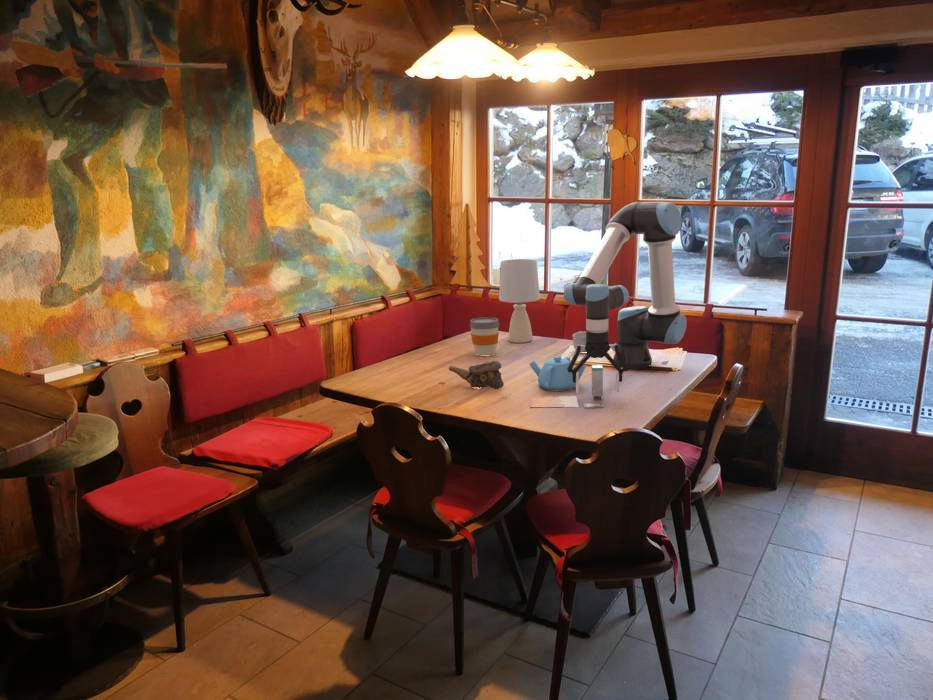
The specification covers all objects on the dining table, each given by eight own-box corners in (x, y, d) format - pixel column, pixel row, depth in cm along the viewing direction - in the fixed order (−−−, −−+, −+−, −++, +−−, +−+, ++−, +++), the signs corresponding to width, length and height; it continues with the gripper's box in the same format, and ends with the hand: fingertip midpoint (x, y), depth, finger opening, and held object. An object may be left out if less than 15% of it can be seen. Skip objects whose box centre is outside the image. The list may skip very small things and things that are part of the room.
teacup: (599, 354, 322) (599, 335, 321) (574, 355, 323) (574, 336, 321) (594, 346, 336) (594, 329, 334) (570, 347, 336) (570, 330, 334)
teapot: (565, 377, 289) (565, 349, 286) (587, 389, 273) (587, 359, 270) (528, 382, 284) (527, 353, 281) (548, 395, 268) (547, 364, 265)
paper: (576, 396, 264) (576, 396, 264) (578, 407, 252) (578, 406, 252) (529, 397, 265) (529, 396, 265) (530, 407, 254) (530, 407, 254)
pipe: (500, 392, 273) (500, 365, 271) (443, 389, 280) (442, 363, 277) (506, 385, 282) (506, 359, 279) (451, 382, 288) (450, 357, 286)
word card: (601, 404, 255) (601, 403, 255) (603, 407, 251) (603, 406, 251) (583, 404, 255) (583, 403, 255) (584, 408, 251) (584, 407, 251)
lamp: (529, 346, 342) (528, 264, 333) (493, 343, 351) (490, 263, 342) (547, 338, 357) (545, 259, 349) (511, 335, 366) (509, 258, 358)
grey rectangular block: (601, 397, 262) (601, 365, 260) (602, 400, 259) (602, 367, 256) (591, 397, 262) (591, 365, 260) (592, 400, 259) (592, 368, 256)
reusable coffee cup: (468, 357, 326) (466, 322, 323) (474, 350, 338) (473, 317, 335) (497, 357, 324) (496, 323, 320) (502, 350, 336) (501, 317, 332)
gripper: (633, 327, 258) (632, 387, 263) (559, 329, 260) (560, 388, 265) (636, 331, 250) (635, 393, 255) (560, 333, 252) (561, 394, 257)
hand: (597, 391), depth 260 cm, fingers open, 13 cm apart
